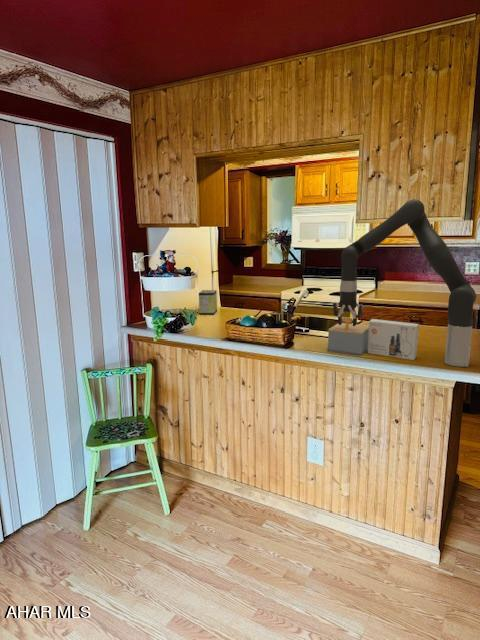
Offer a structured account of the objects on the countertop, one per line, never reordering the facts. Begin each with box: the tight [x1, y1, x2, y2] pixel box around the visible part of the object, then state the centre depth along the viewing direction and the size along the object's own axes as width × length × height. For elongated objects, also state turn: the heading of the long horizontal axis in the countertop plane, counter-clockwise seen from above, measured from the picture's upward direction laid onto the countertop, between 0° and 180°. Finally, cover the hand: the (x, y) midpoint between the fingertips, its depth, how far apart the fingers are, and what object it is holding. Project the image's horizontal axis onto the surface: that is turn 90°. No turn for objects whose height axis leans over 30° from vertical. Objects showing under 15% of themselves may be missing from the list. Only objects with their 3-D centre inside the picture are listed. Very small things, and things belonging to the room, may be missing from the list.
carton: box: [327, 329, 369, 356], centre depth 207 cm, size 16×16×10 cm
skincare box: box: [367, 318, 420, 361], centre depth 196 cm, size 21×5×16 cm, turn 56°
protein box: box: [198, 289, 218, 316], centre depth 303 cm, size 10×16×16 cm
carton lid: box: [328, 317, 369, 334], centre depth 206 cm, size 16×16×6 cm
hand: (347, 325), depth 201 cm, fingers open, 6 cm apart
